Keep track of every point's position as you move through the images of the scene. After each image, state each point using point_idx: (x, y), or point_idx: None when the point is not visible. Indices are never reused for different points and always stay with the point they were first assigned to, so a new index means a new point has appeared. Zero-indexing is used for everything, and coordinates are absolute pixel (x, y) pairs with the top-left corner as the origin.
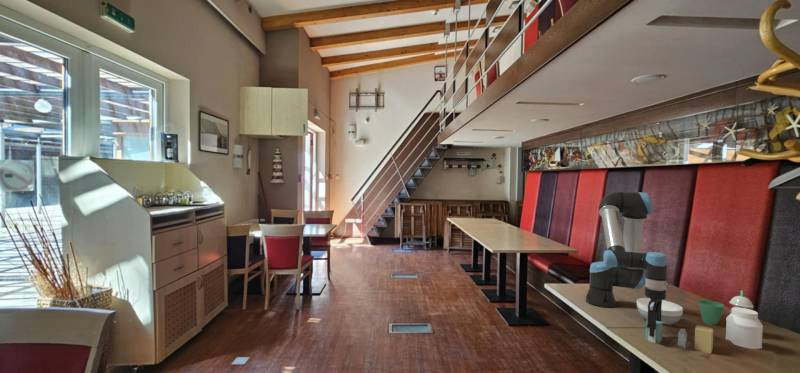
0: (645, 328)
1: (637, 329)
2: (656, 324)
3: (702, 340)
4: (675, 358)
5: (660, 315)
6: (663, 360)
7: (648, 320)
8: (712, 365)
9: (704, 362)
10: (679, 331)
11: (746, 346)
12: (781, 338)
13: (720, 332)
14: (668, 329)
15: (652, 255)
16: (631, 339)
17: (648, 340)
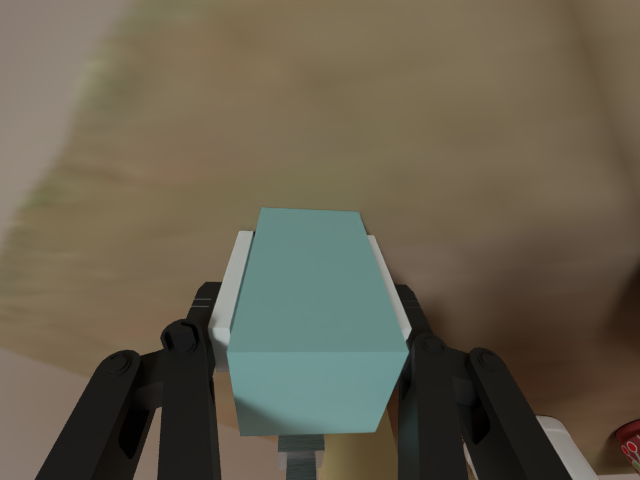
0: (244, 279)
1: (525, 107)
2: (238, 419)
3: (321, 466)
4: (143, 350)
5: (479, 473)
6: (43, 324)
7: (47, 477)
8: (218, 418)
9: (222, 405)
10: (315, 451)
11: (469, 458)
12: (616, 466)
13: (629, 400)
14: (610, 276)
15: None
16: (196, 111)
17: (236, 242)
